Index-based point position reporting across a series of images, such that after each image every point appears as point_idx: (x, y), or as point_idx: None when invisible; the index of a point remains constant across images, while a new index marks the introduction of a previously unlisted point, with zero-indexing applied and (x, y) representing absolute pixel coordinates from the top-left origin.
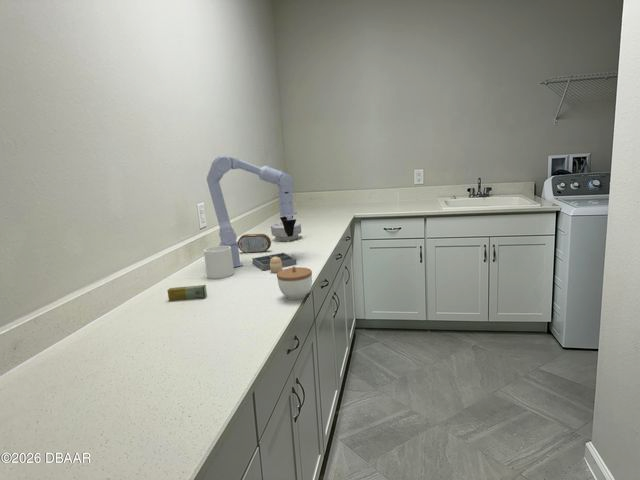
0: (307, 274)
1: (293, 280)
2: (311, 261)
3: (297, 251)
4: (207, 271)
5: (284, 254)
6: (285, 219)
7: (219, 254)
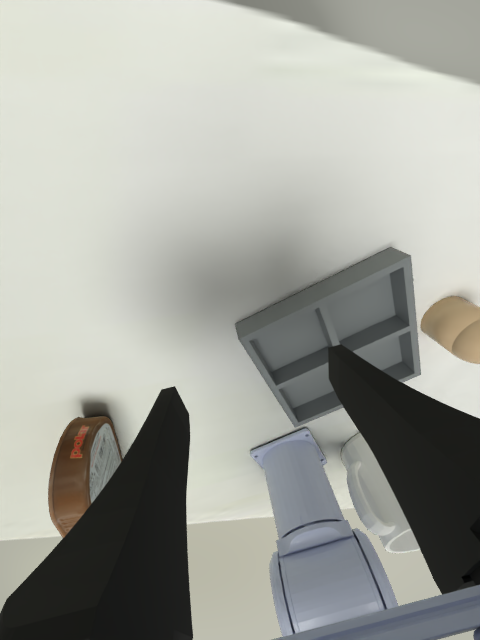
0: None
1: None
2: (377, 159)
3: (99, 273)
4: None
5: (268, 329)
6: (170, 590)
7: None
